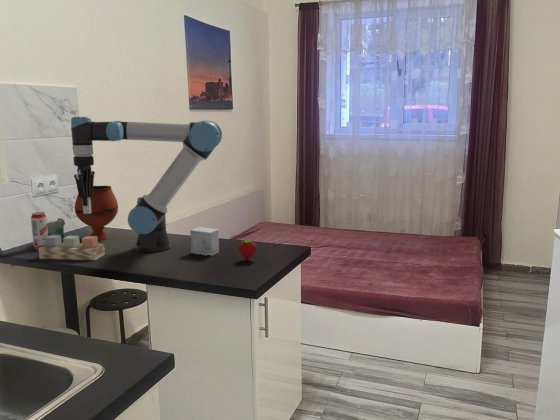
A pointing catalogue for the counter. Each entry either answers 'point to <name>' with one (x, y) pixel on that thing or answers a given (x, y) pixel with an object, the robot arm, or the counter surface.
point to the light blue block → (53, 241)
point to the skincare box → (204, 241)
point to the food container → (56, 228)
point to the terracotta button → (90, 242)
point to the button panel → (72, 252)
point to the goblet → (98, 210)
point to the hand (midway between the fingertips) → (87, 213)
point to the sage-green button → (71, 241)
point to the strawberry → (247, 249)
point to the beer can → (39, 229)
